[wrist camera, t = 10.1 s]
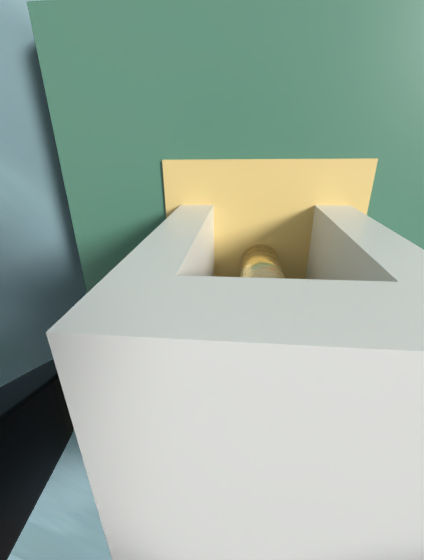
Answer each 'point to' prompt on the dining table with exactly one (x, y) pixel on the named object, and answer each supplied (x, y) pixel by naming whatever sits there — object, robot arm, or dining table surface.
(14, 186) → the dining table surface
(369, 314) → the box
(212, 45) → the board
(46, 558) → the dining table surface
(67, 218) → the dining table surface
